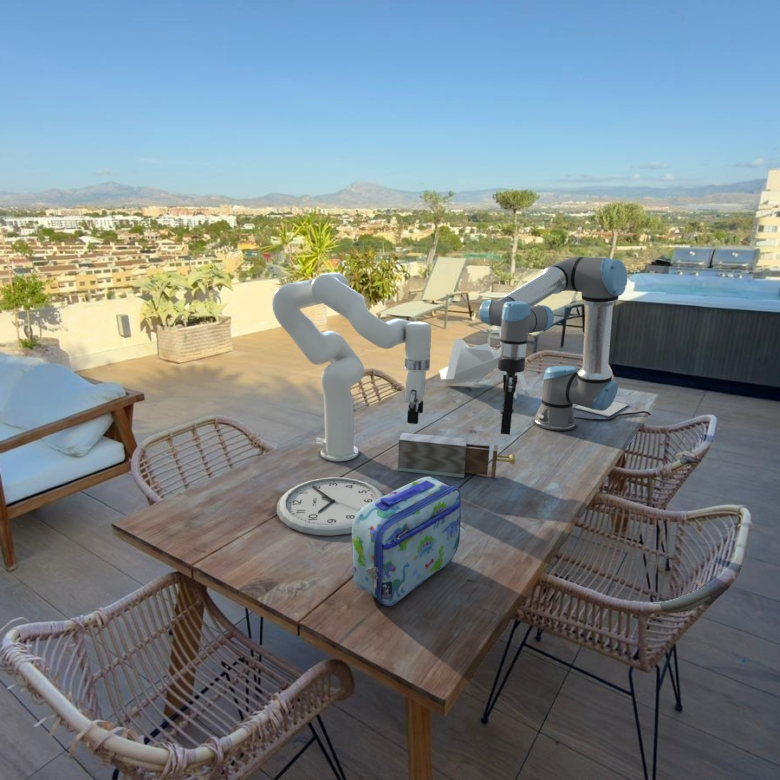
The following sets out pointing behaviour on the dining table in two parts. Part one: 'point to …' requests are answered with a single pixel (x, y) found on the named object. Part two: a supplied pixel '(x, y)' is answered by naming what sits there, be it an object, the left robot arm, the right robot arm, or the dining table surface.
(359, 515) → the lunch box
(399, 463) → the cabinet
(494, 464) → the drawer
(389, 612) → the dining table surface
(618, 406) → the invitation card
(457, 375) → the white plastic object
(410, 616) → the dining table surface
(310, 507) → the wall clock
